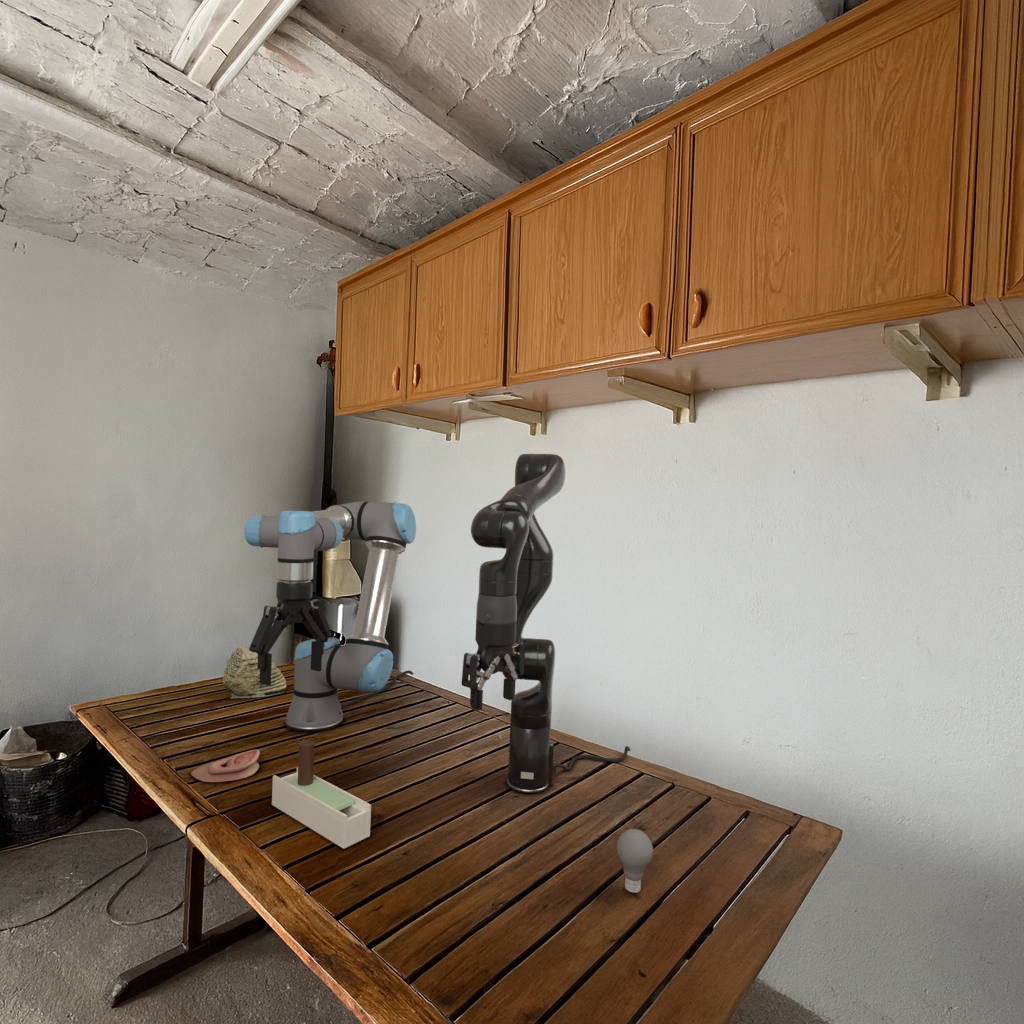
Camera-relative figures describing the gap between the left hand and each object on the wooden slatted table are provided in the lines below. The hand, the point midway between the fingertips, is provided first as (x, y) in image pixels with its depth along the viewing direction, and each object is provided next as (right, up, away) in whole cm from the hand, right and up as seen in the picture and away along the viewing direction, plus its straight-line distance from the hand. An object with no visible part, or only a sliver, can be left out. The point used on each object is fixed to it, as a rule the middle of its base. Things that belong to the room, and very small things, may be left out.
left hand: (291, 677), depth 140 cm
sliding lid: (+11, -19, -15) cm, 27 cm away
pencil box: (+11, -24, -15) cm, 30 cm away
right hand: (+45, +1, -21) cm, 50 cm away
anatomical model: (-16, -23, +3) cm, 28 cm away
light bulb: (+69, -27, -34) cm, 81 cm away
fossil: (-32, -21, +58) cm, 70 cm away
